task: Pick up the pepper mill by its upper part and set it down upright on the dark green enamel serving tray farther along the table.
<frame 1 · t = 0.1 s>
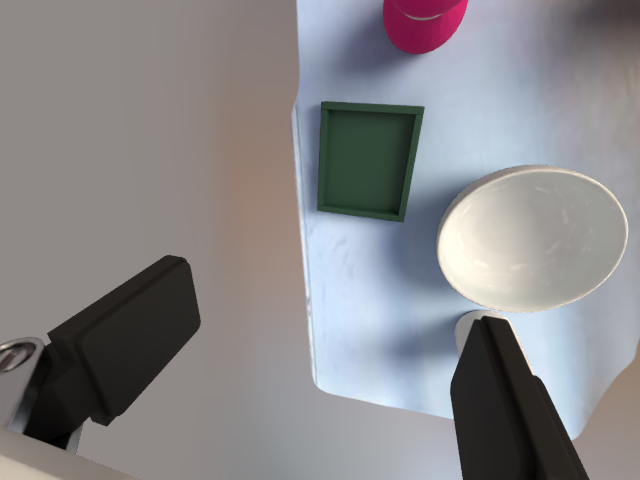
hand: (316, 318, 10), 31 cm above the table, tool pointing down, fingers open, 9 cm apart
pepper mill: (421, 18, 30), on the table
cereal bowl: (504, 223, 36), on the table
tray: (366, 161, 37), on the table
pill bottle: (482, 328, 44), on the table
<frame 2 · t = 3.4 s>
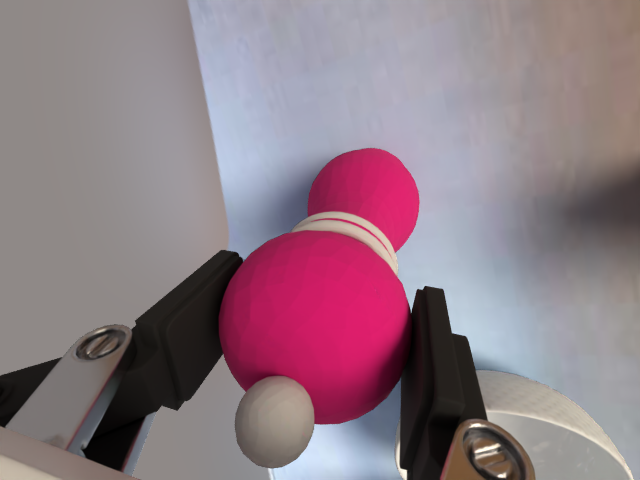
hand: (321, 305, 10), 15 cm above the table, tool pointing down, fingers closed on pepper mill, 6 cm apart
pepper mill: (369, 187, 23), on the table, touching gripper
cereal bowl: (482, 402, 30), on the table
when the fingers open (16 cm above the table, at t = 10.1 s): pepper mill stays where it is, resting on tray.
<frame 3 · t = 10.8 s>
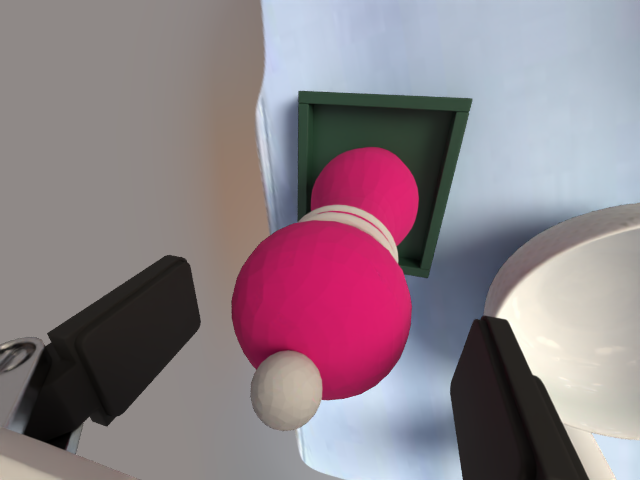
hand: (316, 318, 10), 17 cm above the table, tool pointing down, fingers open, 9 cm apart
pepper mill: (370, 185, 24), resting on tray
cereal bowl: (586, 282, 23), on the table
tray: (371, 185, 24), on the table
pill bottle: (535, 419, 31), on the table
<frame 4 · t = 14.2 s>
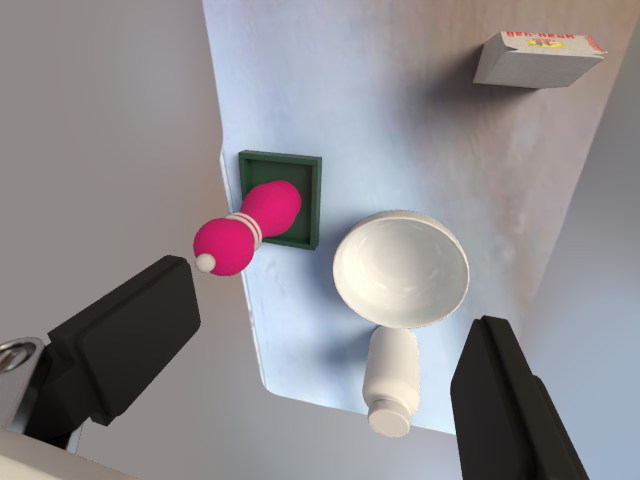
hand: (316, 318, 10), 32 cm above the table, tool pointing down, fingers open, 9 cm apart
pepper mill: (282, 199, 44), resting on tray
cereal bowl: (398, 252, 43), on the table
tray: (283, 199, 44), on the table
pill bottle: (393, 339, 50), on the table
printed tea carton: (512, 66, 31), on the table
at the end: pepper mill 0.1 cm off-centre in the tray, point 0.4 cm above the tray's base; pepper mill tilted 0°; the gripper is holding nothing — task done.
